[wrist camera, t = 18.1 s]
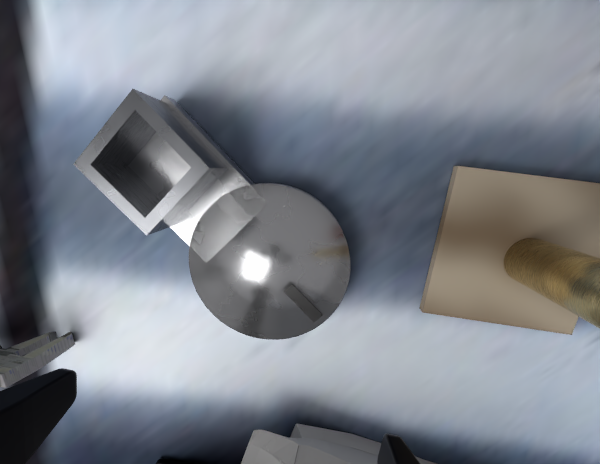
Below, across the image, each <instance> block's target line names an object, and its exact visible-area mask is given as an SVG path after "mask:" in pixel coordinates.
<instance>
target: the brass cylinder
mask: <svg viewBox="0 0 600 464" xmlns="http://www.w3.org/2000/svg"><path fill="white" fill-rule="evenodd" d="M504 269H505V271H506V273H507V274H508V275H509V276H510V277H511V278H512V279H514V280H516V281H517V282H519V283H521V284H523V285H524V286H526V287H528V288H530V289H531V290H533V291H535V292H537V293H538V294H540V295H542V296H544V297H545V298H547V299H549V300H551V301H552V302H554V303H556V304H558V305H560V306H561V307H563V308H565V309H567V310H568V311H570V312H572V313H574V314H575V315H577V316H579V317H581V318H582V319H584V320H586V321H588V322H589V323H591V324H593V325H595V326H596V327H598V328H600V258H598V257H595V256H592V255H588V254H585V253H582V252H579V251H576V250H573V249H569V248H566V247H563V246H560V245H557V244H554V243H550V242H547V241H544V240H541V239H537V238H526V239H522V240H520V241H518V242H516V243H515V244H513V245H512V246H511V247H510V248H509V249H508V251H507V252H506V254H505V257H504Z"/></svg>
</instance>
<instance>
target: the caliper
mask: <svg viewBox="0 0 600 464" xmlns="http://www.w3.org/2000/svg"><path fill="white" fill-rule="evenodd" d="M73 345H75V342H74V339H73V335H72V332H69V333H67V334H65V335H63V336H61V337H59V338H57V334H56V332H49V333H46V334H44V335H41V336H38V337H36V338H33V339H31V340H28V341H26V342H23V343H20V344H18V345H15V346H13V347H10V348H8V349H2V347H1V346H0V387H8V386H10V385H11V384H13V383H15V382H17V381H19V380H20V379H22V378H24V377H26V376H28V375H30V374H31V373H33V372H35V371H37V370H39V369H40V368H42V367H44V366H45V365H46V364H48V363H49V362H51V361H52V360H54V359H55V358H57V357H58V356H59V355H61V354H62V353H64V352H65V351H67V350H68V349H69V348H71V347H72V346H73Z"/></svg>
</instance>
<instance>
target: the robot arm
mask: <svg viewBox="0 0 600 464" xmlns="http://www.w3.org/2000/svg"><path fill="white" fill-rule="evenodd" d="M76 395H77V375H76V372H75V371H73V370H68V369H57V370H55V371H52V372H49V373H47V374H44V375H41V376H39V377H36V378H34V379H31V380H28V381H26V382H23V383H21V384H18V385H15V386H13V387H10V388H7V389H5V390H2V391H0V464H25V463H26V462H27V461H28V460H29V459H30V457H31V456H32V455H33V454H34V452H35V451H36V450H37V449H38V447H39V446H40V445H41V444H42V442H43V441H44V440H45V439H46V437H47V436H48V435H49V433H50V432H51V431H52V430H53V428H54V427H55V426H56V425H57V423H58V422H59V421H60V419H61V418H62V417H63V416H64V414H65V413H66V412H67V410H68V409H69V408H70V407H71V405H72V404H73V402H74V401H75V398H76ZM156 464H189V463H183V462H178V461H173V460H167V459H159V460H158V461H157V463H156ZM377 464H420V462H419V461H418V460H417V458H416V457H415V456H414V454H413V453H412V452H411V450H410V449H409V448H408V446H407V445H406V444H405V442H404V441H403V440H402V438H401V437H399V436H397V435H392V434H385V435H384V436H383V439H382V443H381V447H380V450H379V454H378V459H377Z"/></svg>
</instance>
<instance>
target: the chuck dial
mask: <svg viewBox="0 0 600 464" xmlns="http://www.w3.org/2000/svg"><path fill="white" fill-rule="evenodd" d="M74 165H75V166H76V167H77V168H78V169H79V170H80V171H81V172H82V173H83V174H84V175H85V176H86V177H87V178H88V179H89V180H90V181H91V182H92V183H93V184H94V185H95V186H96V187H97V188H98V189H99V190H100V191H102V192H103V193H104V194H105V195H106V196H107V197H108V198H109V199H110V200H111V201H112V202H113V203H114V204H115V205H116V206H117V207H118V208H119V209H120V210H121V211H122V212H123V213H124V214H125V215H126V216H127V217H128V218H129V219H130V220H131V221H132V222H133V223H134V224H135V225H137V226H138V227H139V228H140V229H141V230H142V231H143V232H144V233H145V234H146V235H149V234H152V233H154V232H157V231H160V230H163V229H165V228H168V227H171V228H172V229H173V230H174V231H175V232H176V233H177V234H178V235H179V236H180V237H181V238H182V239H183V240H184V241H185V242H186V243H187V244H188V245H189V246H190V248H189V267H190V273H191V277H192V281H193V284H194V286H195V289H196V291H197V293H198V295H199V297H200V298H201V300H202V301H203V303H204V304H205V306H206V307H207V308H208V309H209V310H210V312H211V313H212V314H213V315H214V316H215V317H217V318H218V319H219V320H220V321H221V322H223V323H224V324H226V325H227V326H229V327H230V328H232V329H234V330H236V331H238V332H240V333H243V334H245V335H248V336H252V337H256V338H262V339H287V338H291V337H296V336H299V335H302V334H304V333H307V332H309V331H311V330H313V329H315V328H316V327H318V326H319V325H320V324H322V323H323V322H324V321H325V320H327V319H328V318H329V317H330V316H331V315H332V313H333V312H334V311H335V310H336V309H337V307H338V306H339V304H340V302H341V301H342V299H343V297H344V294H345V292H346V289H347V286H348V282H349V277H350V254H349V249H348V245H347V241H346V238H345V235H344V233H343V231H342V228H341V226H340V224H339V223H338V221H337V219H336V218H335V216H334V215H333V214H332V213H331V211H330V210H329V209H328V208H327V207H326V206H325V205H324V204H323V203H322V202H321V201H319V200H318V199H317V198H315V197H314V196H312V195H311V194H309V193H307V192H305V191H303V190H301V189H298V188H296V187H293V186H289V185H285V184H279V183H259V184H254V183H253V182H252V181H251V179H250V178H249V177H248V176H247V175H246V174H245V173H244V172H243V171H242V170H241V169H240V168H239V167H238V166H237V165H236V164H235V163H234V162H233V161H232V159H231V158H230V157H229V156H228V155H227V154H226V153H225V152H224V151H223V150H222V149H221V148H220V147H219V146H218V145H217V144H216V143H215V142H214V141H213V139H212V138H211V137H210V136H209V135H208V134H207V133H206V132H205V131H204V130H203V129H202V128H201V127H200V126H199V125H198V124H197V123H196V122H195V121H194V119H193V118H192V117H191V116H190V115H189V114H188V113H187V112H186V111H185V110H184V109H183V108H182V107H181V106H180V105H179V104H178V103H177V102H176V101H175V100H174V99H172V98H170V97H168V96H164V97H163V98H162V99H161V101H160V100H158V99H156V98H153V97H151V96H149V95H146V94H144V93H142V92H139V91H137V90H135V89H132V90H131V92H130V93H129V94H128V96H127V97H126V98H125V99H124V101H123V102H122V103H121V104H120V106H119V107H118V108H117V109H116V111H115V112H114V113H113V115H112V116H111V117H110V118H109V120H108V121H107V122H106V123H105V125H104V126H103V127H102V129H101V130H100V131H99V132H98V134H97V135H96V136H95V137H94V139H93V140H92V141H91V142H90V144H89V145H88V146H87V148H86V149H85V150H84V151H83V153H82V154H81V155H80V156H79V158H78V159H77V160H76V162H75V163H74Z"/></svg>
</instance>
